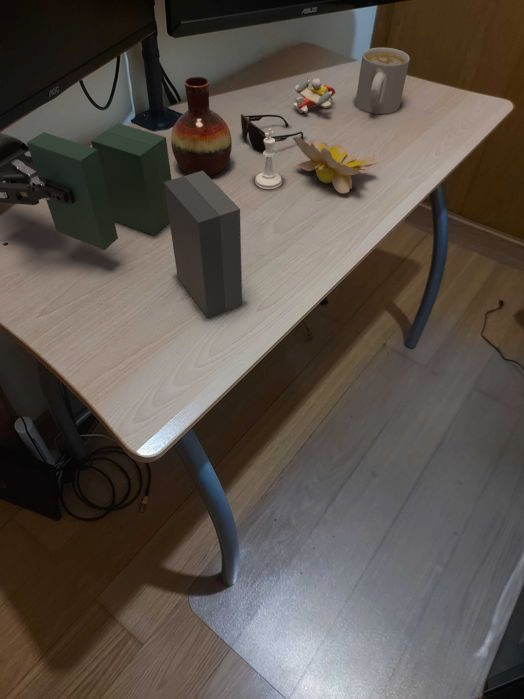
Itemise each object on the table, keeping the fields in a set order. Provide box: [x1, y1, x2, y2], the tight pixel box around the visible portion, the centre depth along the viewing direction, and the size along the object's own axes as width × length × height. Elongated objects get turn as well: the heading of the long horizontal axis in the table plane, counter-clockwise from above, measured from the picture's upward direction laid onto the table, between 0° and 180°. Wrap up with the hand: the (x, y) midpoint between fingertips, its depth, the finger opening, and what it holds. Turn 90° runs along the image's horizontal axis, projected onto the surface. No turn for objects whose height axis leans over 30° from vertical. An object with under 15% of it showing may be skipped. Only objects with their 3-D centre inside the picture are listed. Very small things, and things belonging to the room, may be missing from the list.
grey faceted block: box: [164, 171, 243, 319], centre depth 70 cm, size 6×10×16 cm, turn 31°
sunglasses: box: [240, 113, 304, 153], centre depth 104 cm, size 10×12×5 cm
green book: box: [26, 131, 119, 251], centre depth 71 cm, size 3×9×14 cm, turn 62°
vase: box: [170, 76, 233, 177], centre depth 93 cm, size 11×11×15 cm
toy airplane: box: [293, 77, 336, 114], centre depth 112 cm, size 9×9×6 cm
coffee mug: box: [355, 47, 411, 115], centre depth 112 cm, size 13×10×10 cm
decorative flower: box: [292, 136, 379, 194], centre depth 92 cm, size 15×11×10 cm
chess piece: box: [254, 127, 283, 190], centre depth 91 cm, size 5×5×10 cm
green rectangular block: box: [90, 122, 173, 237], centre depth 82 cm, size 6×9×14 cm
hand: (81, 190), depth 70 cm, fingers closed on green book, 3 cm apart
